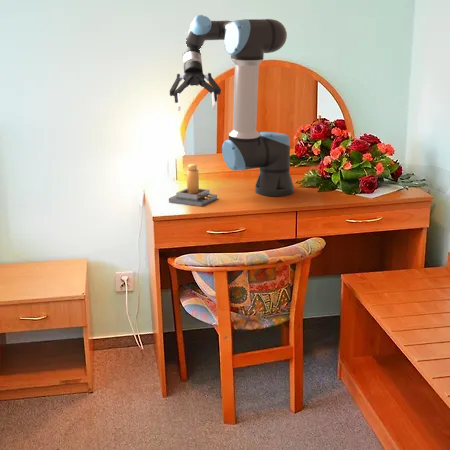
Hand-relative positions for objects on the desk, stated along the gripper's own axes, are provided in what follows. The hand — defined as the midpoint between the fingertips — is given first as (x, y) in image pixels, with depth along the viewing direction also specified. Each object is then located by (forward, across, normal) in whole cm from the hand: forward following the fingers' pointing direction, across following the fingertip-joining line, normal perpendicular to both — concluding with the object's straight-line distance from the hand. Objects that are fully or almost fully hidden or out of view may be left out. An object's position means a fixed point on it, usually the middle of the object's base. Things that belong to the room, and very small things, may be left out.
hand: (196, 108), depth 259 cm
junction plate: (+37, +4, -8) cm, 38 cm away
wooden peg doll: (+36, +4, -7) cm, 37 cm away
